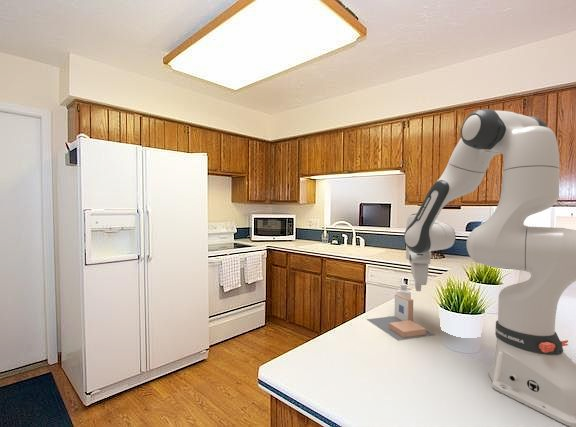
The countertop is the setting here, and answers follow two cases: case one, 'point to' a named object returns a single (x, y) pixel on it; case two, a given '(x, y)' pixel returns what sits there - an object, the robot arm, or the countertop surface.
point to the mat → (384, 325)
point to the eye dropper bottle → (404, 290)
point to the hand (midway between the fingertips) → (418, 290)
